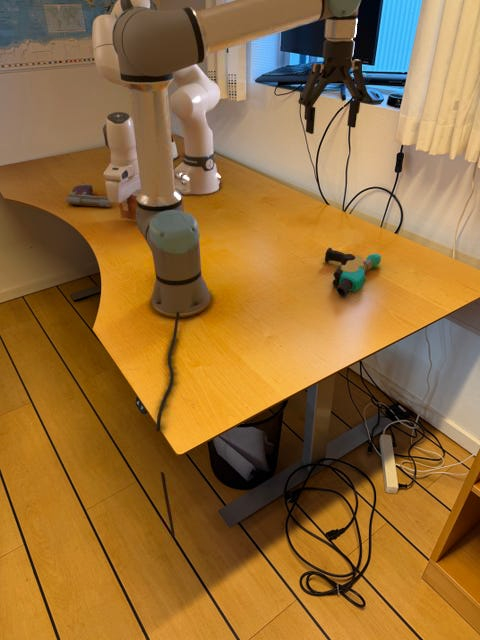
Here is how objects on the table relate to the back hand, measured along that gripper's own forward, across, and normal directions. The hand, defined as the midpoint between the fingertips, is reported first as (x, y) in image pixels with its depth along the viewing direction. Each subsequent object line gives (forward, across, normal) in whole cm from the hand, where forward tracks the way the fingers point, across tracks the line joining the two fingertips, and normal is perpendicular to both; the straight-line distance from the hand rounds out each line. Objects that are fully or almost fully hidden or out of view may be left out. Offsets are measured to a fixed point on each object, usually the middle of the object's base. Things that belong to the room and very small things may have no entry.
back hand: (131, 206), depth 164 cm
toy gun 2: (+5, +13, +77) cm, 78 cm away
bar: (+4, 0, +8) cm, 9 cm away
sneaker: (+6, -58, -22) cm, 62 cm away
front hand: (-30, -3, +66) cm, 73 cm away
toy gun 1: (+6, -11, -24) cm, 27 cm away
